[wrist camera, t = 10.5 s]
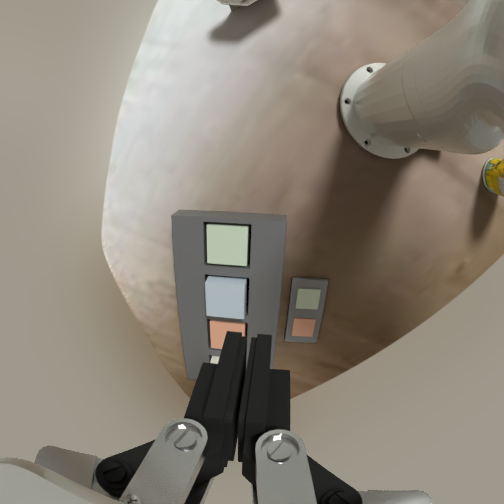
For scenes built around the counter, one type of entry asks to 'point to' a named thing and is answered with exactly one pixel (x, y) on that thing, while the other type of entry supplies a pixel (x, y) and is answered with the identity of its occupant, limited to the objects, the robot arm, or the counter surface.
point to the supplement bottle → (494, 176)
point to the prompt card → (305, 309)
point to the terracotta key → (224, 331)
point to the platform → (236, 3)
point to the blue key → (226, 296)
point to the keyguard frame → (197, 271)
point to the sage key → (228, 243)
